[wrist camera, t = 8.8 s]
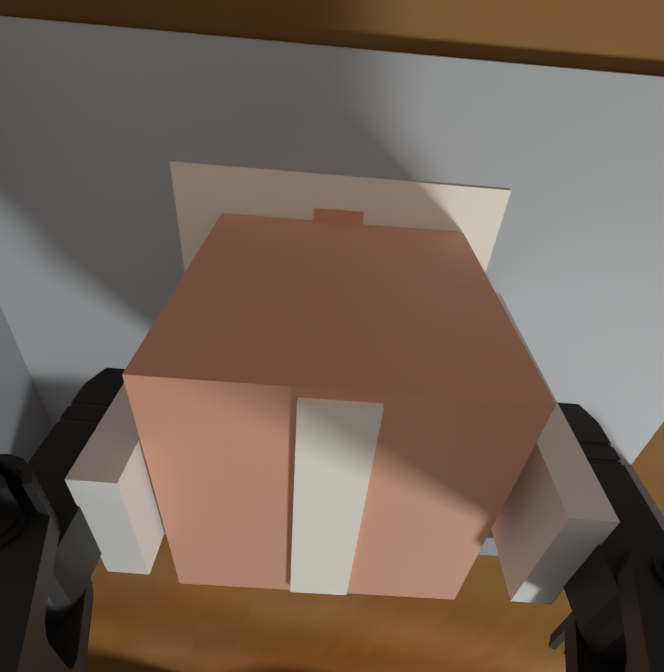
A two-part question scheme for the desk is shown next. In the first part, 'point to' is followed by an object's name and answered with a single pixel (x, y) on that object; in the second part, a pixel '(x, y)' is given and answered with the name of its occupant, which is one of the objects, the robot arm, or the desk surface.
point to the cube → (333, 408)
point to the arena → (322, 196)
